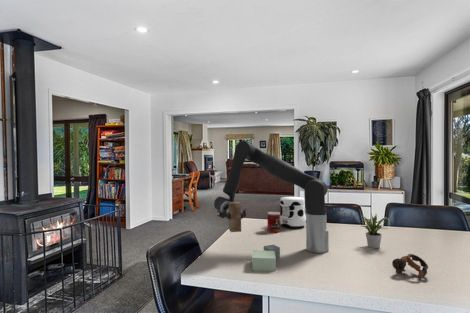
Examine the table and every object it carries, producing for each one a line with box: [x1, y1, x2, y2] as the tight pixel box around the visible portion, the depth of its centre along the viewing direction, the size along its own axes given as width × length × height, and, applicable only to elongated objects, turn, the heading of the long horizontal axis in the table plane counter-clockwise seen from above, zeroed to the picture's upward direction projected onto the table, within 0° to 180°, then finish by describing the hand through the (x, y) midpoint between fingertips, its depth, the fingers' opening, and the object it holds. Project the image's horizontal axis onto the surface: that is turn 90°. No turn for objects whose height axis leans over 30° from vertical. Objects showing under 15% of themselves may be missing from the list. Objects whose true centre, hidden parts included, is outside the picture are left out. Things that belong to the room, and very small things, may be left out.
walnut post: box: [228, 201, 242, 233], centre depth 121 cm, size 4×4×12 cm
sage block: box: [251, 249, 277, 272], centre depth 113 cm, size 9×9×5 cm
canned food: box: [266, 211, 281, 234], centre depth 168 cm, size 8×8×11 cm
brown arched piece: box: [391, 253, 429, 280], centre depth 104 cm, size 12×10×8 cm
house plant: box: [360, 213, 388, 249], centre depth 136 cm, size 14×14×16 cm
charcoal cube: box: [263, 244, 281, 261], centre depth 122 cm, size 5×5×5 cm
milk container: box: [279, 196, 306, 229], centre depth 181 cm, size 17×17×18 cm
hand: (236, 216), depth 119 cm, fingers closed on walnut post, 4 cm apart
